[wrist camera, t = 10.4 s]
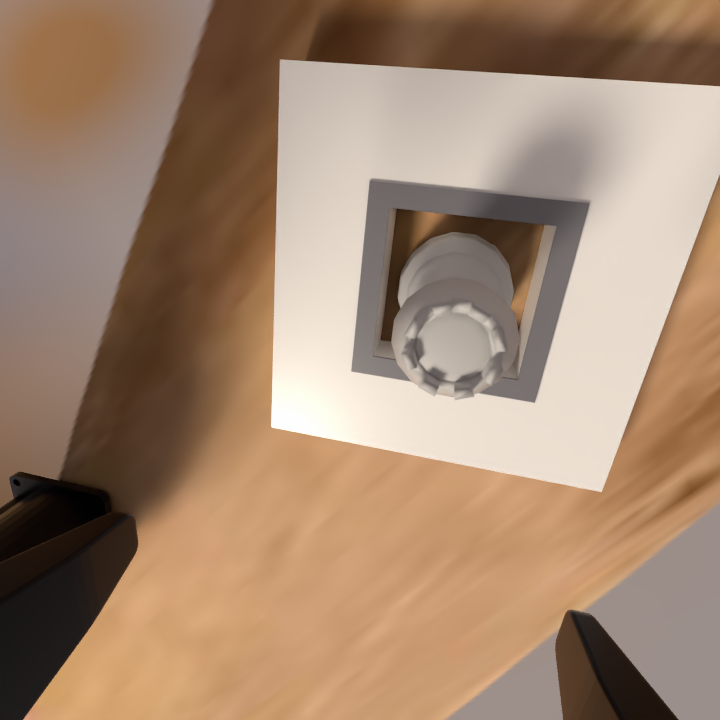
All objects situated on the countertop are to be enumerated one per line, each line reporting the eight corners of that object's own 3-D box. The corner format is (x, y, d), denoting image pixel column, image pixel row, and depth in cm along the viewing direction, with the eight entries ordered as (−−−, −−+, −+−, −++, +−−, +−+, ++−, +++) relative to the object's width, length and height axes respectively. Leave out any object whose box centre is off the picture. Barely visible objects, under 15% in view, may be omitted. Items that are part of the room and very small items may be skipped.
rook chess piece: (455, 359, 19) (456, 465, 12) (378, 291, 19) (327, 355, 11) (536, 283, 17) (596, 349, 10) (452, 205, 17) (450, 215, 9)
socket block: (287, 407, 21) (270, 428, 20) (299, 74, 16) (278, 58, 14) (587, 463, 19) (602, 493, 17) (713, 101, 14) (753, 87, 12)
